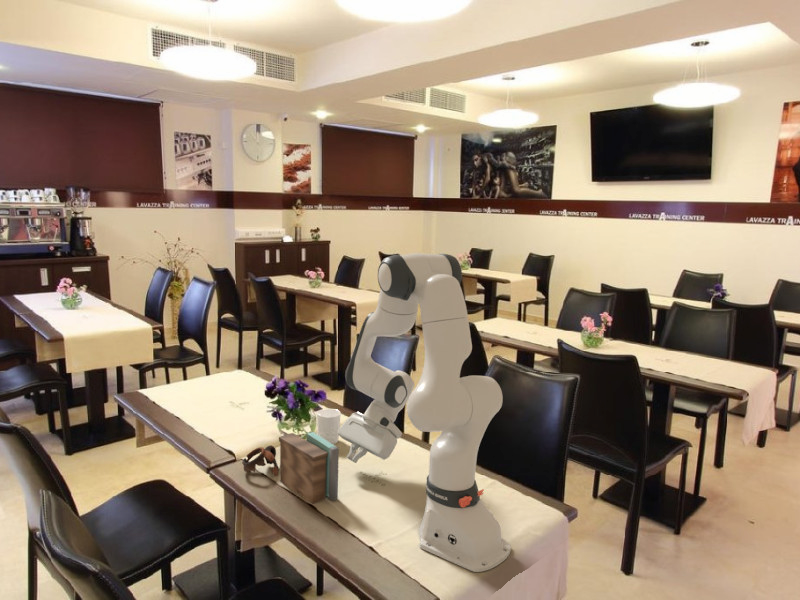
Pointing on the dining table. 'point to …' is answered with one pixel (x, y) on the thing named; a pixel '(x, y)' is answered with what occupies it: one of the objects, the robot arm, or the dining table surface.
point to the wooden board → (303, 467)
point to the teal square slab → (328, 464)
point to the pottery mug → (261, 459)
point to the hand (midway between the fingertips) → (351, 460)
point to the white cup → (328, 424)
